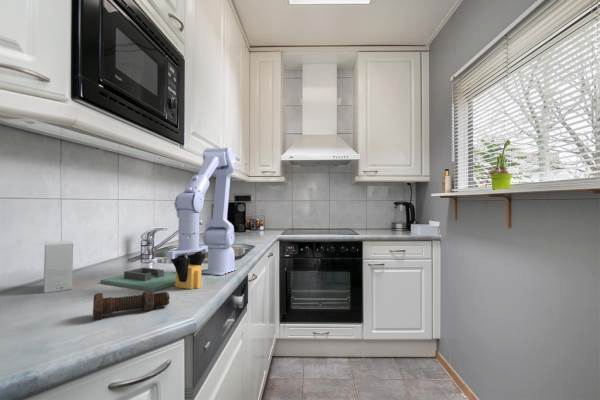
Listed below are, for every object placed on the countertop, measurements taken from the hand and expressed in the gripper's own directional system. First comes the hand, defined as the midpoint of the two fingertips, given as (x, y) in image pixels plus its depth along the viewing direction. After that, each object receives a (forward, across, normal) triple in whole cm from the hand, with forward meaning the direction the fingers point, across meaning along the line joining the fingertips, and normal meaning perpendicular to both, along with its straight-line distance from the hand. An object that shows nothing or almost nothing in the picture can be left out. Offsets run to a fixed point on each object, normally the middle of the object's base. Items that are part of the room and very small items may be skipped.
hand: (188, 279), depth 93 cm
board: (+2, 0, -16) cm, 16 cm away
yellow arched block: (+2, 0, 0) cm, 2 cm away
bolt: (+2, +22, +4) cm, 23 cm away
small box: (+2, +17, -32) cm, 36 cm away
